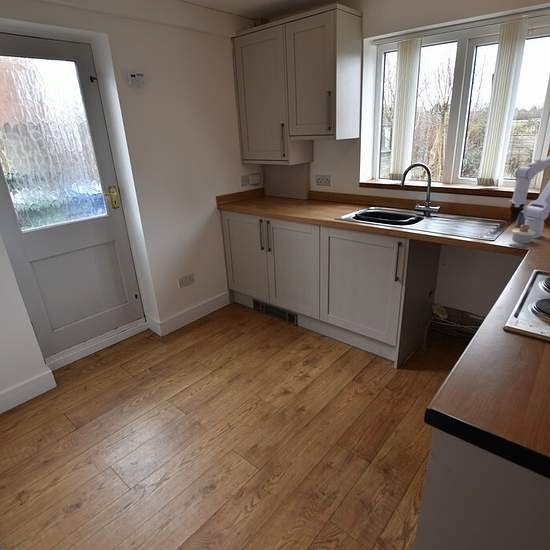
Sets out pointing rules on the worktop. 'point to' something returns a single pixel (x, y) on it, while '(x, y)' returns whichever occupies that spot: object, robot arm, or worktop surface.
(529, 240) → the bowl
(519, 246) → the mat
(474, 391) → the worktop surface
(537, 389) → the worktop surface
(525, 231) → the lid
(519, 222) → the flask
